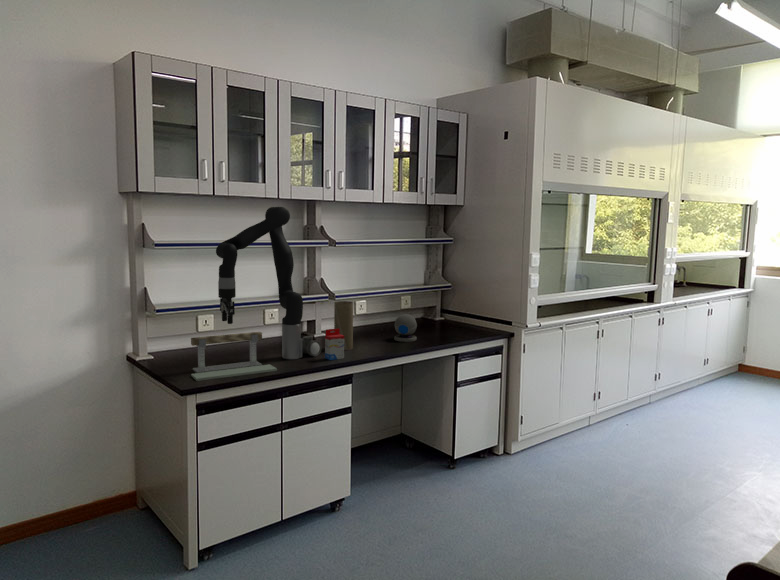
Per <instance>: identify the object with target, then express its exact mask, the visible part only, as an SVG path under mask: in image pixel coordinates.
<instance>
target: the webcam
mask: <svg viewBox="0 0 780 580" xmlns="http://www.w3.org/2000/svg"><path fill="white" fill-rule="evenodd" d="M417 327H418V323H417V320H416V318H415V317H414V316H412V315H411V314H408V313H404V314H400V315H399V316H398V317H397V318H396V319H395V321H394V329H395V331H396V333H397V334H396V335H394V338H393V339H394V341H398V342H401V343H402V342H404V343H405V342H406V343H409V342H415V341H417V336H416V335H413V334H414V333H415V332H416V331H417Z"/></svg>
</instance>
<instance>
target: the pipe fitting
mask: <svg viewBox="0 0 780 580" xmlns="http://www.w3.org/2000/svg"><path fill="white" fill-rule="evenodd" d="M321 344H322V343H321V342H320V341H319V340H314V335H311V334H310V335H305V336H303V337H302V355H309V356H311V357H318V356H319V355H320V354H321V352H322V345H321Z"/></svg>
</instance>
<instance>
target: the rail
mask: <svg viewBox="0 0 780 580" xmlns="http://www.w3.org/2000/svg"><path fill="white" fill-rule="evenodd" d="M254 334H258V340H263V332H261V331H252V332H243V333H231V334H221V335H220V334H219V335H218V334H217V335H210V336H209V335H207V336H197V337H191V338H190V345H191V346H195V347H196V345H199V340H200V339H206V345H215V344H224V343H235V342H243V341H244V342H247V341H248V340H251V335H254Z"/></svg>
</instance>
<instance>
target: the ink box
mask: <svg viewBox="0 0 780 580" xmlns="http://www.w3.org/2000/svg"><path fill="white" fill-rule="evenodd" d="M334 331H335V332H334ZM339 332H340V329H339V328H338V329H334V328H329V329H325V335H324V336H325V337H324V359H325V360H328V361H335V360H343V359H344V358H345V350H344V335H341V334H339Z"/></svg>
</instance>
